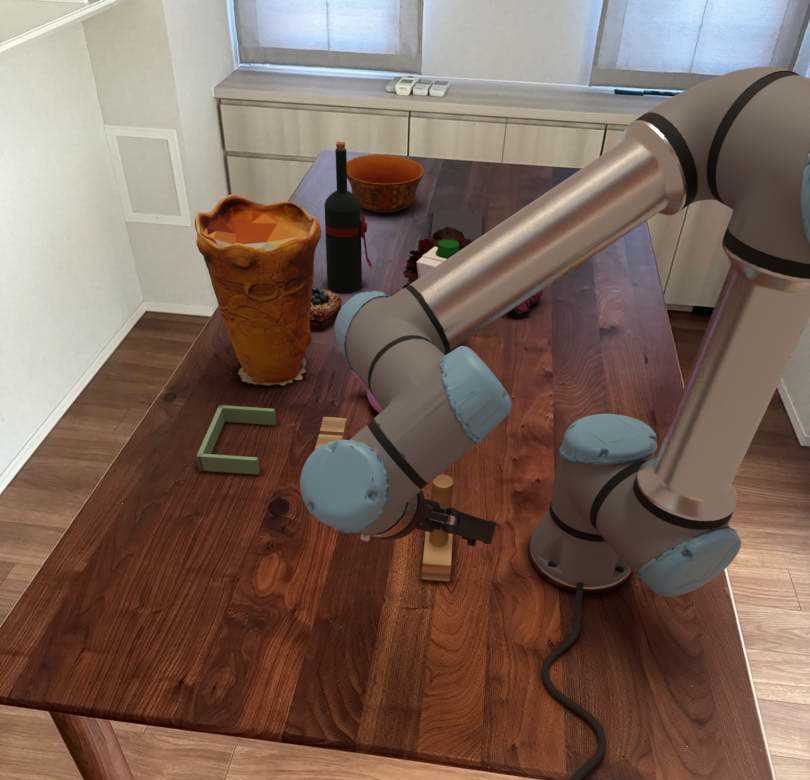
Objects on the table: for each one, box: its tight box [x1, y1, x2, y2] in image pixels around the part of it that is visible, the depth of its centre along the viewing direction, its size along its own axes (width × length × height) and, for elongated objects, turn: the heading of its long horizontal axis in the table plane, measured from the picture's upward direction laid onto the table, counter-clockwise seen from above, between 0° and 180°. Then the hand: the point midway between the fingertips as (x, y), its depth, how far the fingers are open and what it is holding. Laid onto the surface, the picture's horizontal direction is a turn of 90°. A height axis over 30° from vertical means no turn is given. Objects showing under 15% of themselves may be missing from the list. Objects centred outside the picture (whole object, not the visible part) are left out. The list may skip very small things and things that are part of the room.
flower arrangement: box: [402, 226, 544, 319], centre depth 171 cm, size 31×20×15 cm, turn 82°
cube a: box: [314, 433, 343, 451], centre depth 131 cm, size 4×4×4 cm
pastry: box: [310, 286, 343, 332], centre depth 166 cm, size 11×12×6 cm
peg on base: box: [421, 474, 454, 582], centre depth 112 cm, size 10×4×14 cm, turn 175°
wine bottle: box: [323, 141, 373, 294], centre depth 168 cm, size 8×10×30 cm
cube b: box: [319, 416, 348, 440], centre depth 134 cm, size 4×4×4 cm
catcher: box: [196, 404, 277, 476], centre depth 134 cm, size 15×10×3 cm
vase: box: [194, 194, 322, 387], centre depth 141 cm, size 21×20×30 cm
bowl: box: [347, 153, 426, 213], centre depth 208 cm, size 21×21×10 cm
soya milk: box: [416, 239, 459, 355], centre depth 154 cm, size 9×9×20 cm
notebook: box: [430, 208, 483, 242], centre depth 200 cm, size 13×2×21 cm
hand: (423, 518), depth 101 cm, fingers open, 13 cm apart
